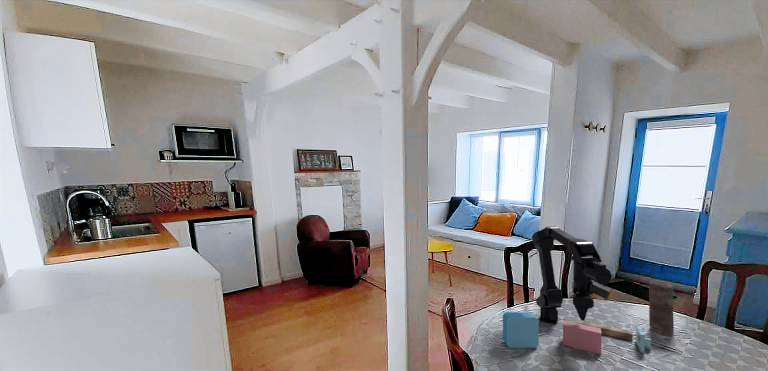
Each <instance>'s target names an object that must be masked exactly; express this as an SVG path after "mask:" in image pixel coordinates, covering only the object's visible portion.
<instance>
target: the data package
mask: <svg viewBox="0 0 768 371" xmlns="http://www.w3.org/2000/svg"><path fill="white" fill-rule="evenodd" d="M539 321H540V320H539V319H538V318H537V317H536V316H535V315H534V313H533V312H531V311H521V312H518V311H517V312H516V311H515V312H514V311H512V312H511V311H509V312H504V313H503V314H502V340H503V341H504V342H505V344H506V346H507V347H508V348H509V349H536V348H538V347H539V342H540V341H539V339H540V338H539V334H540V333H539V330H540V329H539V326H540V325H539V324H540V322H539Z"/></svg>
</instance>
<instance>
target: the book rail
mask: <svg viewBox="0 0 768 371" xmlns="http://www.w3.org/2000/svg"><path fill="white" fill-rule="evenodd" d="M577 323H578V324H583V325H587V326H592V327H597V328H601V335H606V336H610V337H615V338H619V339H623V340H624V339H625V340H628V341H633V335H634V334H633V332H632V331H628V330H624V329H620V328H615V327H609V326H605V325H599V324H595V323H590V322H586V321H582V320H577Z"/></svg>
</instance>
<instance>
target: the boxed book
mask: <svg viewBox="0 0 768 371" xmlns="http://www.w3.org/2000/svg"><path fill="white" fill-rule="evenodd" d="M562 321H563V322H562V346H565V345H566V347H571V348H574V349H577V350H578V349H579V350H582V351H586V352H589V353H593V354H598V355H602V334H601V328H597V327H592V326H587V325H583V324H578V322H577V323H576V322H573V321H569V320H562Z"/></svg>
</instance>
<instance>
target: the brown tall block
mask: <svg viewBox="0 0 768 371" xmlns="http://www.w3.org/2000/svg"><path fill="white" fill-rule="evenodd" d="M648 289H649V290H648V292H649V293H648V294H649V296H648V298H649V299H648V302H649V303H648V304H649V305H648V308H649V309H648V310H649V311H648V312H649V315H648V316H649V317H648V319H649V320H648V322H649V327H650V328H651V329H652V330H653V331H654V332H657V333H659V334H660V335H663V336H673V335H674V333H675V332H674V321H675V320H674V288H673V285H672V284H670V283H662V282H661V283H660V282H657V281H650V282H648Z"/></svg>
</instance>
